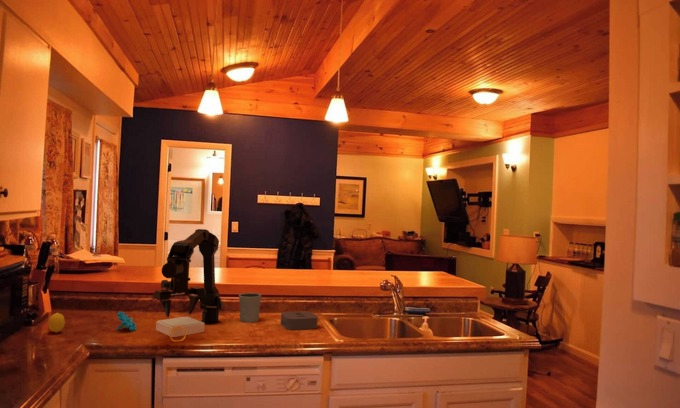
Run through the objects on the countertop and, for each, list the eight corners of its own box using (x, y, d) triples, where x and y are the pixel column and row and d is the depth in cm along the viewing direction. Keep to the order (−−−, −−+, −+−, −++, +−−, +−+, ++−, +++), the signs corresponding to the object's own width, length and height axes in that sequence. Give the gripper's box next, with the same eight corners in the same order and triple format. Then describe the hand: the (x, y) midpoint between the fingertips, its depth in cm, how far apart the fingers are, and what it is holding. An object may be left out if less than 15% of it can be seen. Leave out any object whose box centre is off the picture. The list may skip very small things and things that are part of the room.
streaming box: (318, 329, 213) (319, 317, 213) (287, 331, 208) (287, 319, 208) (309, 322, 227) (309, 311, 227) (279, 323, 221) (279, 312, 221)
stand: (187, 325, 209) (187, 316, 209) (204, 331, 199) (204, 322, 199) (156, 330, 199) (156, 320, 199) (172, 337, 189) (173, 327, 189)
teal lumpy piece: (132, 329, 191) (116, 311, 192) (120, 340, 190) (104, 321, 191) (141, 327, 202) (126, 309, 203) (130, 336, 201) (115, 319, 202)
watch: (170, 343, 182) (169, 327, 182) (169, 341, 184) (169, 326, 184) (186, 341, 184) (186, 325, 184) (185, 339, 187) (185, 324, 187)
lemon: (67, 332, 189) (68, 312, 189) (53, 335, 184) (54, 314, 184) (58, 330, 191) (59, 310, 191) (44, 333, 186) (45, 312, 186)
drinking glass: (264, 320, 224) (265, 294, 225) (249, 324, 216) (250, 297, 216) (248, 317, 230) (249, 292, 230) (233, 320, 221) (234, 294, 222)
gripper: (192, 270, 197) (190, 308, 197) (147, 273, 183) (145, 314, 183) (206, 274, 189) (204, 313, 189) (161, 277, 176) (159, 320, 175)
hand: (179, 315), depth 184 cm, fingers open, 9 cm apart
